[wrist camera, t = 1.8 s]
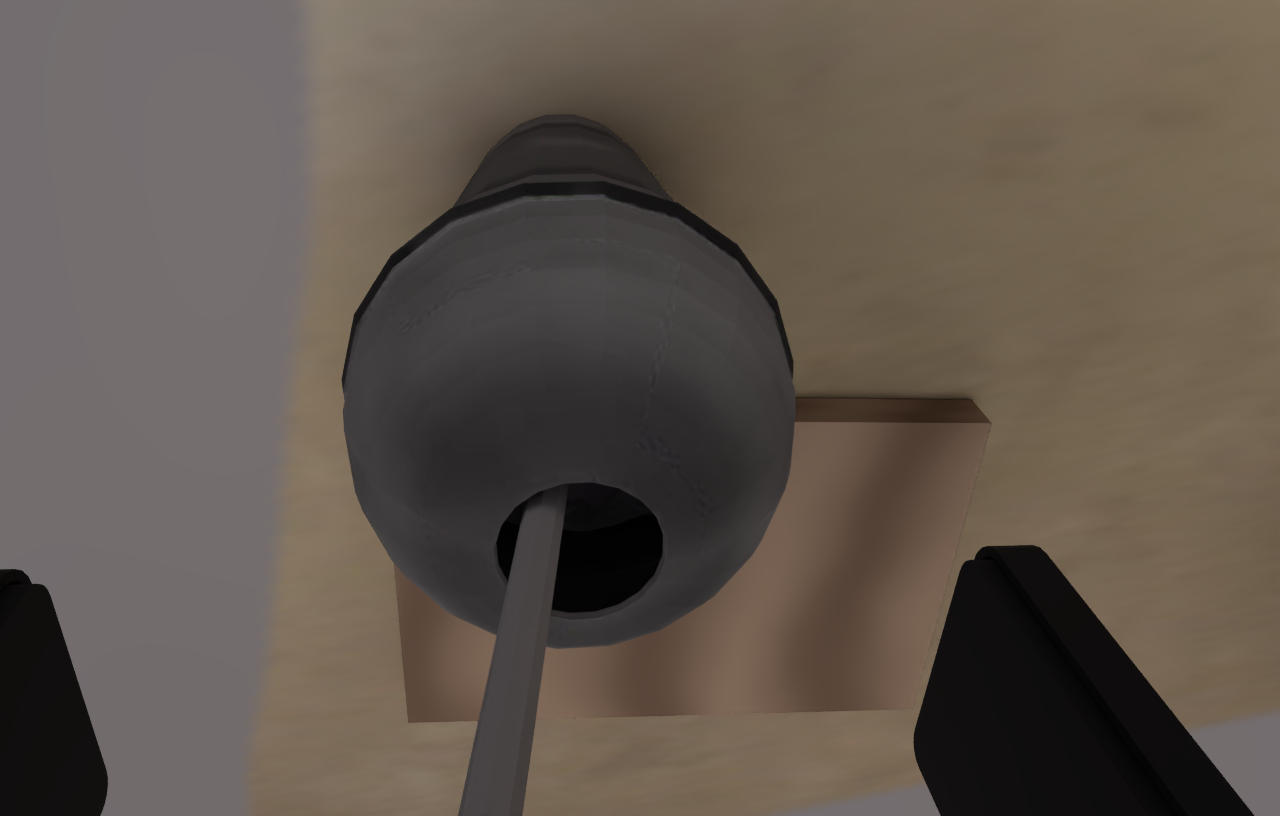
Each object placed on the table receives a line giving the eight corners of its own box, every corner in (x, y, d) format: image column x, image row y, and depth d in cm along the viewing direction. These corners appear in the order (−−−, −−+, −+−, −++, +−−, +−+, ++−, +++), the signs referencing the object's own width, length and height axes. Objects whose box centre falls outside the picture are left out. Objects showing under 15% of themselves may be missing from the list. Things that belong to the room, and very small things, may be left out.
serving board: (971, 399, 29) (991, 423, 28) (898, 678, 35) (912, 709, 34) (389, 394, 27) (381, 419, 26) (413, 690, 33) (408, 722, 32)
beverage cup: (569, 370, 27) (609, 1190, 10) (368, 204, 25) (-65, 953, 7) (750, 195, 25) (1195, 848, 8) (553, -9, 22) (578, 320, 5)
